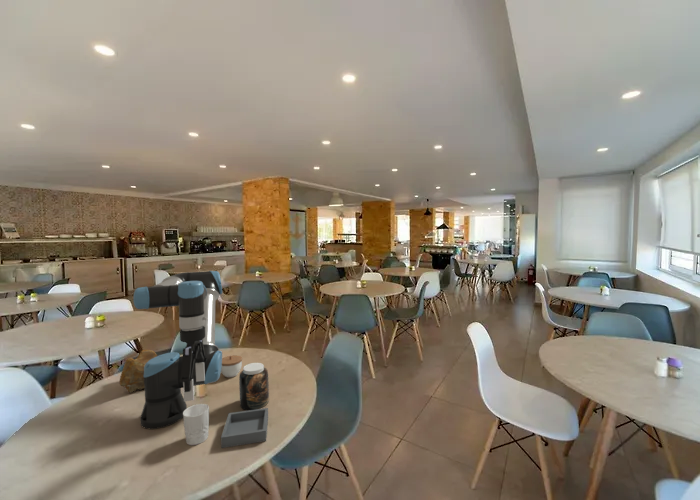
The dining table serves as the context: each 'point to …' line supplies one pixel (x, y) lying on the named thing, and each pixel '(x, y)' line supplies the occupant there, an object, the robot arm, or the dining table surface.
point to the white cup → (196, 423)
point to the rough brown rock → (135, 371)
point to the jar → (254, 386)
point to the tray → (245, 428)
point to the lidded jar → (231, 365)
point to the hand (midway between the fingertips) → (195, 390)
